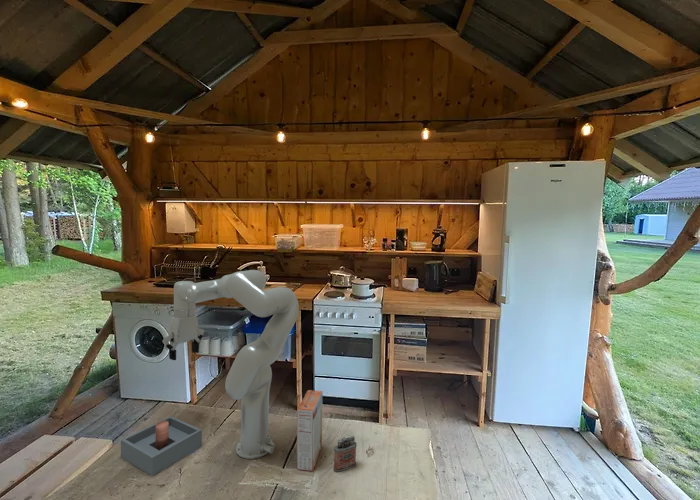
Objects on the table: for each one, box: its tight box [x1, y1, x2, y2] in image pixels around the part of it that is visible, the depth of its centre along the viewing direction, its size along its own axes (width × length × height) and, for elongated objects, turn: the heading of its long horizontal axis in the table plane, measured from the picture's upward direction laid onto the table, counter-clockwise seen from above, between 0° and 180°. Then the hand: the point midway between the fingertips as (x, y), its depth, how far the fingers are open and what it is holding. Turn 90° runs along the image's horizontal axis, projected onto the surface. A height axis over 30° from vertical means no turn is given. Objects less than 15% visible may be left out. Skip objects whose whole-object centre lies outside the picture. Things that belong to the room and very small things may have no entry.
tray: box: [120, 415, 203, 477], centre depth 119 cm, size 18×18×6 cm
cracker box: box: [296, 389, 323, 472], centre depth 118 cm, size 14×6×21 cm, turn 172°
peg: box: [156, 420, 169, 450], centre depth 119 cm, size 4×4×10 cm
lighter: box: [333, 435, 357, 474], centre depth 114 cm, size 8×3×10 cm, turn 117°
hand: (184, 355), depth 134 cm, fingers open, 9 cm apart
